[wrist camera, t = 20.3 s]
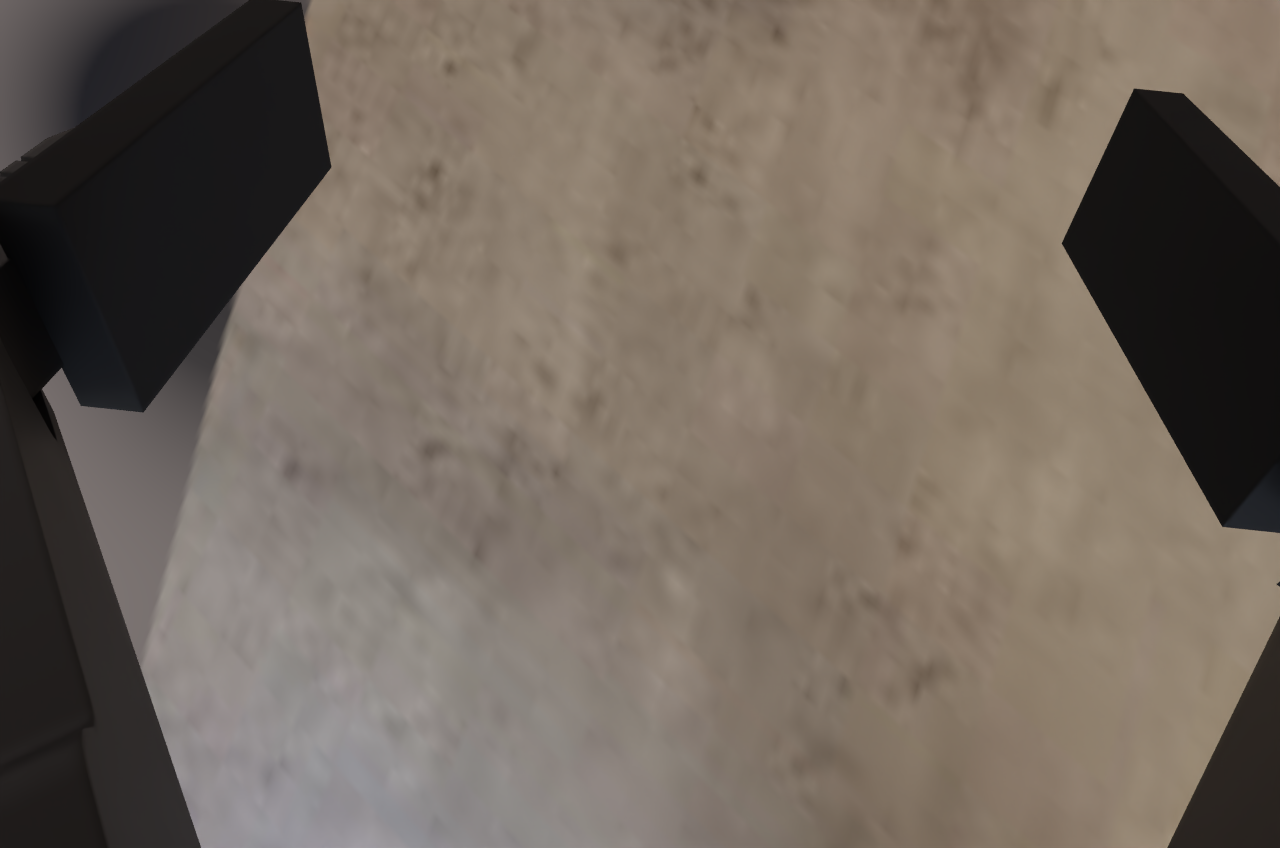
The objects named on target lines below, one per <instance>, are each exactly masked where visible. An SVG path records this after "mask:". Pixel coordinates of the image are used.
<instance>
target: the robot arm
mask: <svg viewBox="0 0 1280 848" xmlns="http://www.w3.org/2000/svg"><path fill="white" fill-rule="evenodd" d="M330 168H331V162H330V157H329V152H328V146H327V141H326V135H325V130H324V124H323V119H322V114H321V108H320V103H319V97H318V92H317V86H316V81H315V76H314V70H313V65H312V59H311V54H310V48H309V43H308V38H307V32H306V27H305V21H304V16H303V10H302V5H301V3H299V2H289V1H279V0H249V1H248V2H246V3H245V4H244V5H242V6H241V7H239V8H238V9H237V10H235V11H234V12H233V13H232V14H230V15H229V16H227V17H226V18H224V19H223V20H222V21H220V22H219V23H218V24H216V25H215V26H213V27H212V28H211V29H210V30H208V31H207V32H205V33H204V34H202V35H201V36H200V37H198V38H197V39H196V40H194V41H193V42H192V43H190V44H189V45H187V46H186V47H185V48H183V49H182V50H180V51H179V52H178V53H176V54H175V55H174V56H172V57H171V58H169V60H167V61H165V62H164V63H163V64H161V65H160V66H159V67H157V68H156V69H155V70H153V71H152V72H150V73H149V74H148V75H146V76H145V77H143V78H142V79H141V80H139V81H138V82H137V83H135V84H134V85H132V86H131V87H130V88H128V89H127V90H126V91H124V92H123V93H122V94H120V95H119V96H117V97H116V98H115V99H113V100H112V101H111V102H109V103H108V104H106V105H105V106H104V107H102V108H101V109H100V110H98V111H97V112H96V113H94V114H93V115H91V116H90V117H89V118H87V119H86V120H85V121H83V122H82V123H80V124H79V125H78V126H76V127H75V128H72V129H70V130H67V131H64V132H62V133H59V134H57V135H54V136H52V137H49V138H47V139H45V140H44V141H43V142H41V143H40V144H38V145H37V146H35V147H34V148H33V149H31V150H30V151H28V152H27V153H26V154H24V155H23V156H21V161H15V162H13V163H12V164H10V165H9V166H8V167H6V168H5V169H3V170H2V171H1V172H0V848H201V846H200V843H199V840H198V837H197V834H196V831H195V828H194V825H193V822H192V819H191V816H190V813H189V811H188V808H187V805H186V802H185V799H184V796H183V793H182V790H181V787H180V784H179V781H178V778H177V775H176V772H175V769H174V766H173V763H172V760H171V757H170V754H169V751H168V748H167V745H166V742H165V739H164V736H163V734H162V731H161V728H160V725H159V722H158V719H157V716H156V713H155V710H154V707H153V704H152V701H151V698H150V695H149V692H148V689H147V686H146V683H145V680H144V677H143V674H142V671H141V668H140V665H139V662H138V660H137V657H136V654H135V651H134V648H133V645H132V642H131V639H130V636H129V633H128V630H127V627H126V624H125V621H124V618H123V615H122V612H121V609H120V607H119V603H118V600H117V598H116V594H115V592H114V589H113V585H112V583H111V580H110V577H109V574H108V571H107V568H106V565H105V562H104V559H103V556H102V553H101V550H100V547H99V544H98V541H97V538H96V535H95V532H94V529H93V527H92V524H91V520H90V517H89V514H88V511H87V509H86V506H85V503H84V500H83V497H82V494H81V491H80V488H79V485H78V482H77V479H76V476H75V473H74V470H73V467H72V464H71V461H70V458H69V456H68V452H67V449H66V446H65V443H64V441H63V438H62V435H61V432H60V429H59V426H58V423H57V420H56V417H55V414H54V411H53V409H52V408H51V405H50V404H49V402H48V400H47V398H46V396H45V394H44V392H43V390H42V388H43V387H44V386H45V385H46V384H47V382H49V380H50V379H51V378H52V377H53V376H54V375H55V374H56V373H57V372H58V371H59V370H60V369H61V368H62V369H63V371H64V373H65V375H66V377H67V379H68V381H69V383H70V385H71V387H72V388H73V391H74V393H75V395H76V397H77V399H78V401H79V403H80V404H81V406H88V407H98V408H107V409H117V410H126V411H136V412H144V411H145V410H146V408H147V407H148V406H149V404H150V403H151V402H152V400H153V399H154V398H155V396H156V395H157V394H158V393H159V391H160V390H161V389H162V387H163V386H164V385H165V384H166V382H167V381H168V380H169V378H170V377H171V376H172V374H173V373H174V372H175V370H176V369H177V368H178V366H179V365H180V364H181V363H182V361H183V360H184V359H185V357H186V356H187V355H188V354H189V352H190V351H191V350H192V348H193V347H194V346H195V344H196V343H197V342H198V341H199V339H200V338H201V337H202V335H203V334H204V333H205V331H206V330H207V329H208V327H209V326H210V325H211V324H212V322H213V321H214V320H215V318H216V317H217V316H218V314H219V313H220V312H221V310H222V309H223V308H224V307H225V305H226V304H227V303H228V301H229V300H230V299H231V298H232V296H233V295H234V294H235V292H236V291H237V290H238V288H239V287H240V286H241V284H242V283H243V282H244V281H245V279H246V278H247V277H248V275H249V274H250V273H251V271H252V270H253V269H254V268H255V266H256V265H257V264H258V262H259V261H260V260H261V258H262V257H263V256H264V254H265V253H266V252H267V251H268V249H269V248H270V247H271V245H272V244H273V243H274V241H275V240H276V239H277V238H278V236H279V235H280V234H281V232H282V231H283V230H284V228H285V227H286V226H287V225H288V223H289V222H290V221H291V219H292V218H293V217H294V215H295V214H296V213H297V211H298V210H299V209H300V208H301V206H302V205H303V204H304V202H305V201H306V200H307V198H308V197H309V196H310V195H311V193H312V192H313V191H314V189H315V188H316V187H317V185H318V184H319V183H320V181H321V180H322V179H323V178H324V176H325V175H326V174H327V172H328V171H329V170H330ZM1062 245H1063V246H1064V248H1065V250H1066V252H1067V253H1068V255H1069V257H1070V259H1071V260H1072V262H1073V264H1074V266H1075V268H1076V269H1077V271H1078V273H1079V275H1080V276H1081V278H1082V280H1083V282H1084V283H1085V285H1086V287H1087V289H1088V290H1089V292H1090V294H1091V296H1092V298H1093V299H1094V301H1095V303H1096V305H1097V306H1098V308H1099V310H1100V312H1101V313H1102V315H1103V317H1104V319H1105V320H1106V322H1107V324H1108V326H1109V328H1110V329H1111V331H1112V333H1113V335H1114V336H1115V338H1116V340H1117V342H1118V343H1119V345H1120V347H1121V349H1122V350H1123V352H1124V354H1125V356H1126V358H1127V359H1128V361H1129V363H1130V365H1131V366H1132V368H1133V370H1134V372H1135V373H1136V375H1137V377H1138V379H1139V380H1140V382H1141V384H1142V386H1143V388H1144V389H1145V391H1146V393H1147V395H1148V396H1149V398H1150V400H1151V402H1152V403H1153V405H1154V407H1155V409H1156V410H1157V412H1158V414H1159V416H1160V417H1161V419H1162V421H1163V423H1164V425H1165V426H1166V428H1167V430H1168V432H1169V433H1170V435H1171V437H1172V439H1173V440H1174V442H1175V444H1176V446H1177V447H1178V449H1179V451H1180V453H1181V455H1182V456H1183V458H1184V460H1185V462H1186V463H1187V465H1188V467H1189V469H1190V470H1191V472H1192V474H1193V476H1194V477H1195V479H1196V481H1197V483H1198V485H1199V486H1200V488H1201V490H1202V492H1203V493H1204V495H1205V497H1206V499H1207V500H1208V502H1209V504H1210V506H1211V507H1212V509H1213V511H1214V513H1215V515H1216V516H1217V518H1218V520H1219V522H1220V523H1221V525H1222V527H1229V528H1239V529H1248V530H1258V531H1267V532H1276V533H1280V187H1279V186H1278V185H1277V184H1276V183H1275V182H1274V181H1273V180H1272V179H1271V178H1270V177H1269V176H1268V175H1267V174H1266V173H1265V172H1264V171H1263V170H1262V169H1260V168H1259V167H1258V166H1257V165H1256V164H1255V163H1254V162H1253V161H1252V160H1251V159H1250V158H1249V157H1248V156H1247V155H1246V154H1245V153H1244V152H1243V151H1242V150H1241V149H1240V148H1239V147H1238V146H1237V145H1236V144H1235V143H1234V142H1233V141H1232V140H1231V139H1229V138H1228V137H1227V136H1226V135H1225V134H1224V133H1223V132H1222V131H1221V130H1220V129H1219V128H1218V127H1217V126H1216V125H1215V124H1214V123H1213V122H1212V121H1211V120H1210V119H1209V118H1208V117H1207V116H1206V115H1205V114H1204V113H1203V112H1202V111H1201V110H1200V109H1198V108H1197V107H1196V106H1195V105H1194V104H1193V103H1192V102H1191V101H1190V100H1189V99H1188V98H1187V97H1186V96H1185V95H1184V94H1182V93H1172V92H1162V91H1153V90H1143V89H1134V90H1133V92H1132V94H1131V97H1130V99H1129V101H1128V103H1127V105H1126V107H1125V109H1124V111H1123V114H1122V116H1121V118H1120V120H1119V122H1118V124H1117V126H1116V129H1115V131H1114V133H1113V135H1112V137H1111V139H1110V141H1109V144H1108V146H1107V148H1106V150H1105V152H1104V154H1103V156H1102V159H1101V161H1100V163H1099V165H1098V167H1097V169H1096V171H1095V173H1094V176H1093V178H1092V180H1091V182H1090V184H1089V186H1088V188H1087V191H1086V193H1085V195H1084V197H1083V199H1082V201H1081V203H1080V206H1079V208H1078V210H1077V212H1076V214H1075V216H1074V218H1073V221H1072V223H1071V225H1070V227H1069V229H1068V231H1067V233H1066V235H1065V238H1064V240H1063V242H1062ZM1277 585H1278V586H1280V582H1279V583H1278V584H1277ZM1168 848H1280V617H1279V619H1278V621H1277V624H1276V626H1275V628H1274V630H1273V632H1272V634H1271V636H1270V638H1269V640H1268V642H1267V644H1266V646H1265V648H1264V650H1263V652H1262V654H1261V656H1260V658H1259V661H1258V663H1257V665H1256V667H1255V669H1254V671H1253V673H1252V675H1251V677H1250V679H1249V681H1248V683H1247V685H1246V687H1245V689H1244V691H1243V693H1242V695H1241V697H1240V700H1239V702H1238V704H1237V706H1236V708H1235V710H1234V712H1233V714H1232V716H1231V718H1230V720H1229V722H1228V724H1227V726H1226V728H1225V730H1224V732H1223V734H1222V737H1221V739H1220V741H1219V743H1218V745H1217V747H1216V749H1215V751H1214V753H1213V755H1212V757H1211V759H1210V761H1209V763H1208V765H1207V767H1206V769H1205V771H1204V774H1203V776H1202V778H1201V780H1200V782H1199V784H1198V786H1197V788H1196V790H1195V792H1194V794H1193V796H1192V798H1191V800H1190V802H1189V804H1188V806H1187V808H1186V811H1185V813H1184V815H1183V817H1182V819H1181V821H1180V823H1179V825H1178V827H1177V829H1176V831H1175V833H1174V835H1173V837H1172V839H1171V841H1170V843H1169V845H1168Z"/></svg>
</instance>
